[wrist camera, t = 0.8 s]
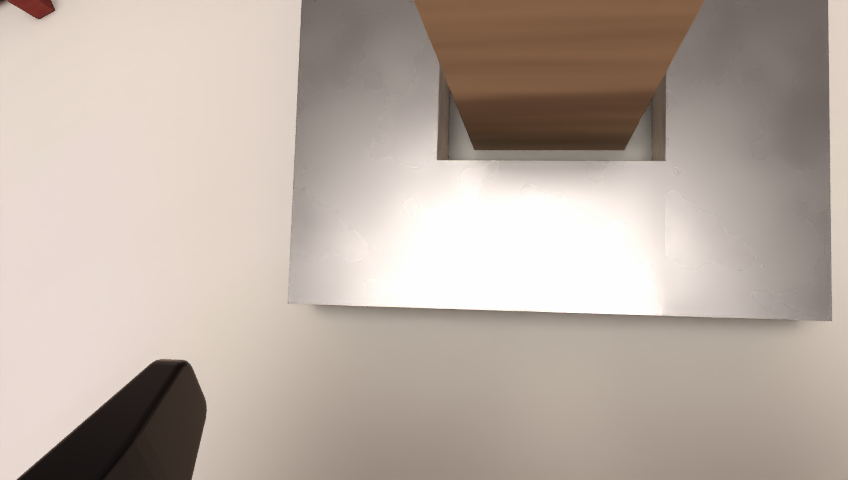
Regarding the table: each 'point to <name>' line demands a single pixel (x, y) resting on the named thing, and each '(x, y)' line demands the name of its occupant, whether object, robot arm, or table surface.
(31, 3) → the pliers
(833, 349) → the table surface
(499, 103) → the walnut peg
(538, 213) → the post plate
